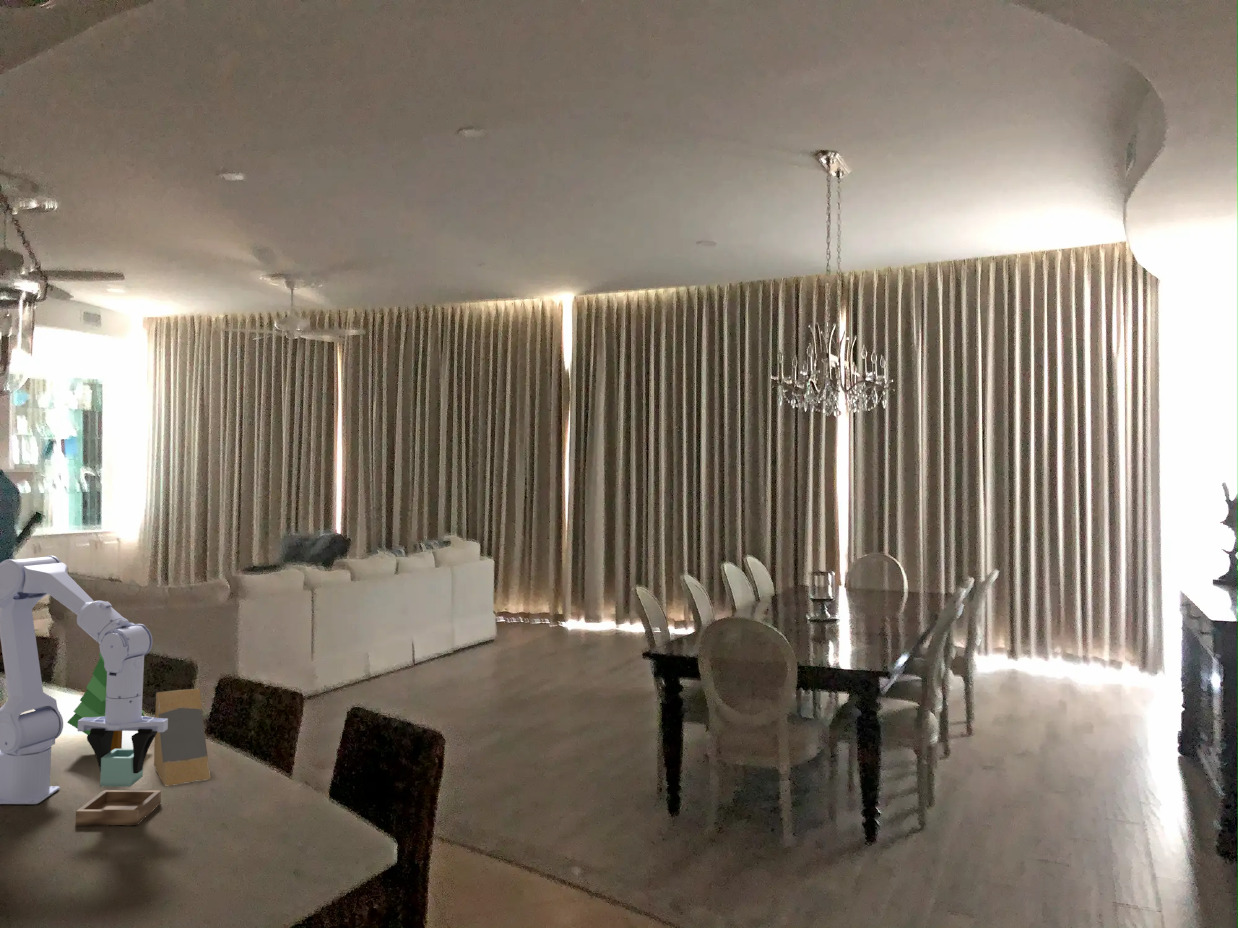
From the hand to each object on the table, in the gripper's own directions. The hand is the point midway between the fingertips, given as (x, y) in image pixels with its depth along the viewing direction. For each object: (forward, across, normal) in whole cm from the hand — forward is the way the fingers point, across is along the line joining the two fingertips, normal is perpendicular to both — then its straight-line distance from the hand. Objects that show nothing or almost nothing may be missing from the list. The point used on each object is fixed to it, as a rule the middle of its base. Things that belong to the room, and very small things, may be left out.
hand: (121, 771), depth 159 cm
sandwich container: (+8, +2, +23) cm, 24 cm away
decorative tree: (+8, -17, +33) cm, 38 cm away
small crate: (+2, 0, 0) cm, 2 cm away
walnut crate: (+8, 0, 0) cm, 8 cm away
